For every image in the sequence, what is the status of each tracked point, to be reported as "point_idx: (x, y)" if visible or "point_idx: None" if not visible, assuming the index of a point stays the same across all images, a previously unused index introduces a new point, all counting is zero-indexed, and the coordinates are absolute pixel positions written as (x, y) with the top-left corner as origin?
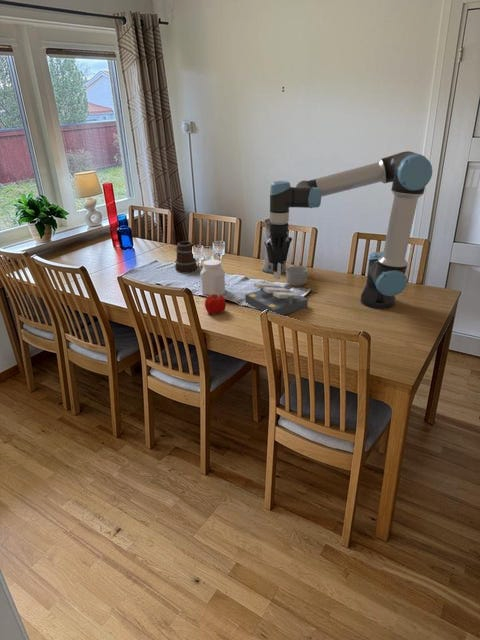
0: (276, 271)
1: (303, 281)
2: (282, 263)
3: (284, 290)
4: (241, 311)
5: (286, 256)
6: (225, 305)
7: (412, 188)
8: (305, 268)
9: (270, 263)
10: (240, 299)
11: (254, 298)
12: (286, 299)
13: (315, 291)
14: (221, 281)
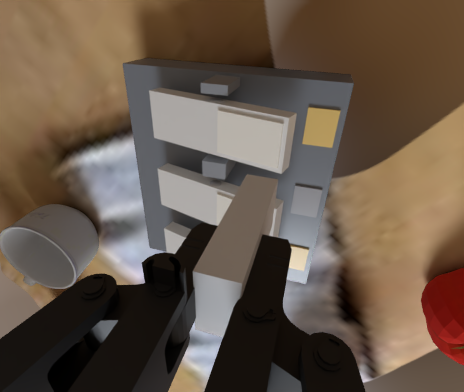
0: (270, 237)
1: (53, 207)
2: (172, 265)
3: (183, 177)
4: (388, 224)
5: (37, 324)
6: (442, 286)
7: None
8: (4, 246)
9: None
10: (301, 283)
11: (311, 238)
12: None
13: (47, 145)
14: None
